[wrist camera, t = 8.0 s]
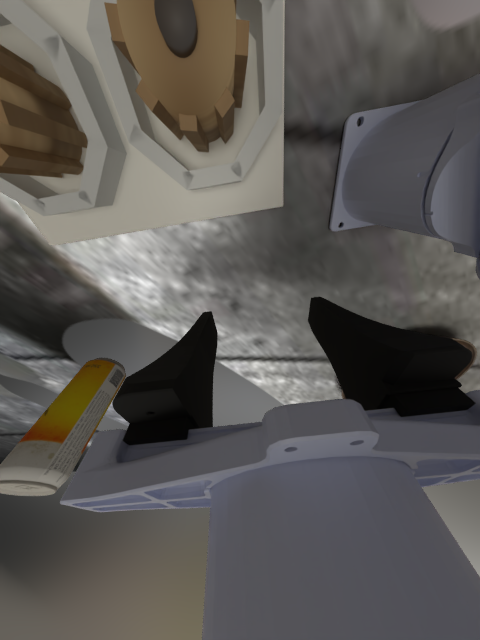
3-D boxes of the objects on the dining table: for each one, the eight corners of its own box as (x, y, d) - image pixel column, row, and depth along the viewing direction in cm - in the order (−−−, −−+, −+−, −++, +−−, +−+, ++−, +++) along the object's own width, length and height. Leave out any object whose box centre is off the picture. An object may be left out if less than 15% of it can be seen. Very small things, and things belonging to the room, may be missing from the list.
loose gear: (244, 27, 10) (259, -157, 5) (239, 155, 13) (245, 130, 8) (147, 15, 10) (47, -198, 4) (167, 149, 13) (122, 120, 8)
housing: (277, -147, 8) (308, -365, 5) (279, 205, 16) (291, 208, 13) (-133, -35, 9) (-326, -154, 6) (63, 242, 18) (25, 253, 14)
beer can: (78, 360, 28) (-36, 488, 16) (110, 351, 27) (13, 479, 15) (107, 381, 31) (30, 498, 19) (135, 373, 31) (74, 492, 19)
